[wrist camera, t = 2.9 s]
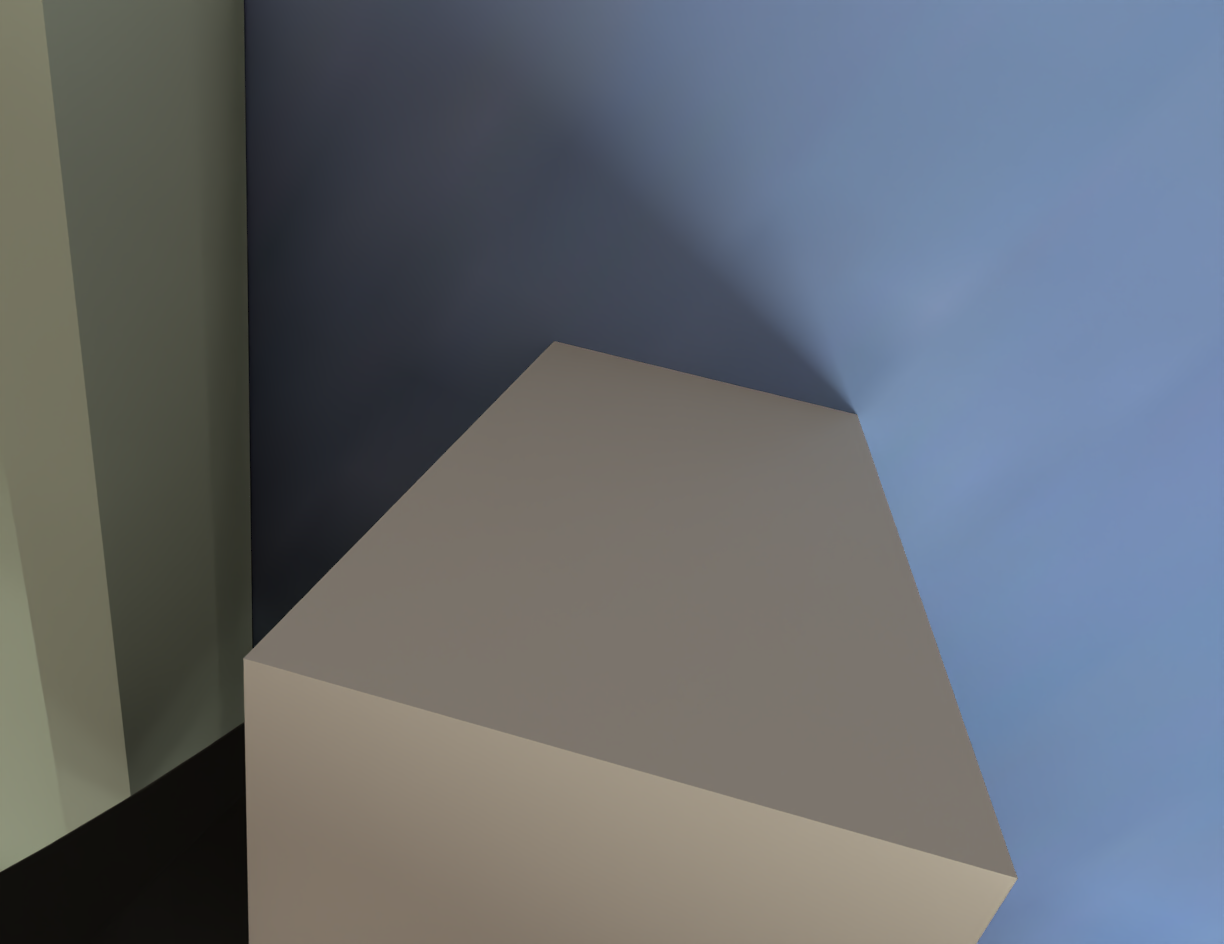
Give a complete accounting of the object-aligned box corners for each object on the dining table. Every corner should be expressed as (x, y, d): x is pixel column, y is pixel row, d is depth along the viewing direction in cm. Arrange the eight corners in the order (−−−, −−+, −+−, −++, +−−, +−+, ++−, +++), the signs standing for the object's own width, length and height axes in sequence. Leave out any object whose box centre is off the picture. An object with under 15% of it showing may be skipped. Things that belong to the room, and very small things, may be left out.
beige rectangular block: (855, 411, 9) (1016, 878, 3) (649, 991, 13) (574, 1578, 8) (556, 338, 9) (242, 658, 3) (457, 932, 14) (259, 1460, 8)
